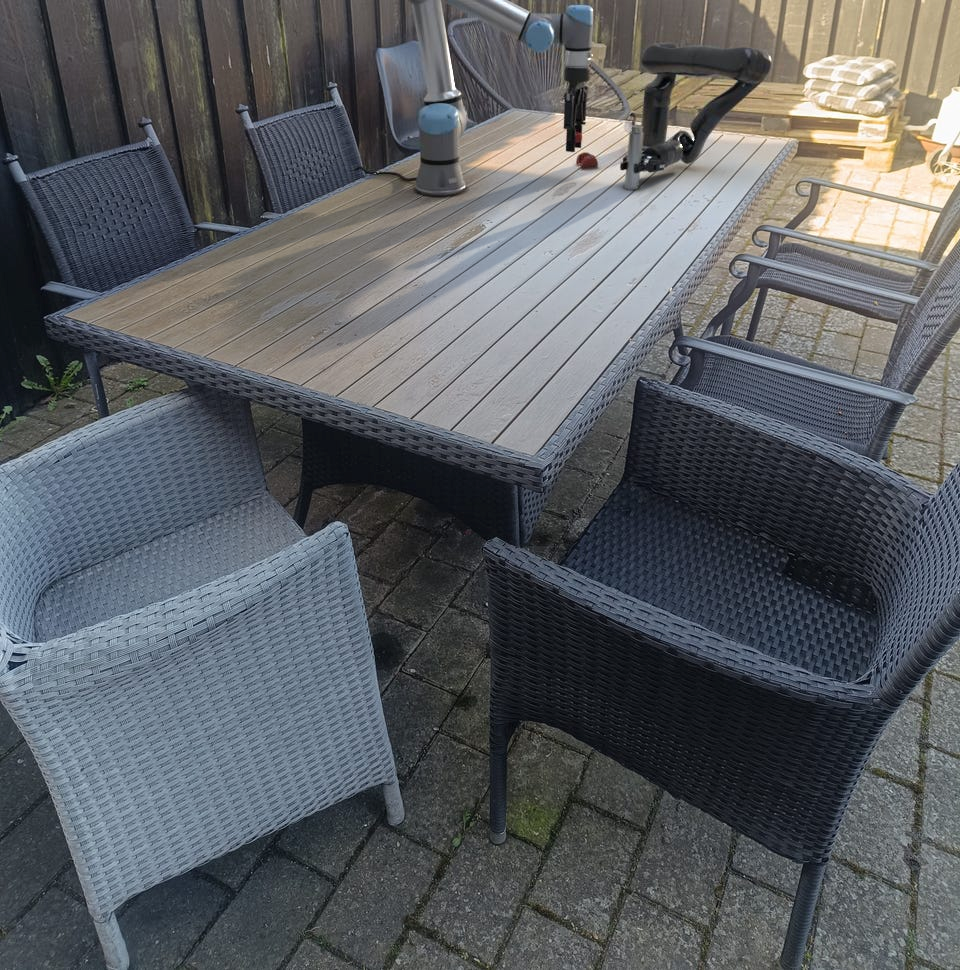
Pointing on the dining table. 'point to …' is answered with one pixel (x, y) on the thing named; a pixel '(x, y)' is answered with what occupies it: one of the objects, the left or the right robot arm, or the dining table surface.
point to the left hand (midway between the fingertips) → (573, 149)
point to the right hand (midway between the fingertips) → (628, 168)
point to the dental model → (587, 160)
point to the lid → (578, 137)
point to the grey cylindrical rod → (634, 157)
